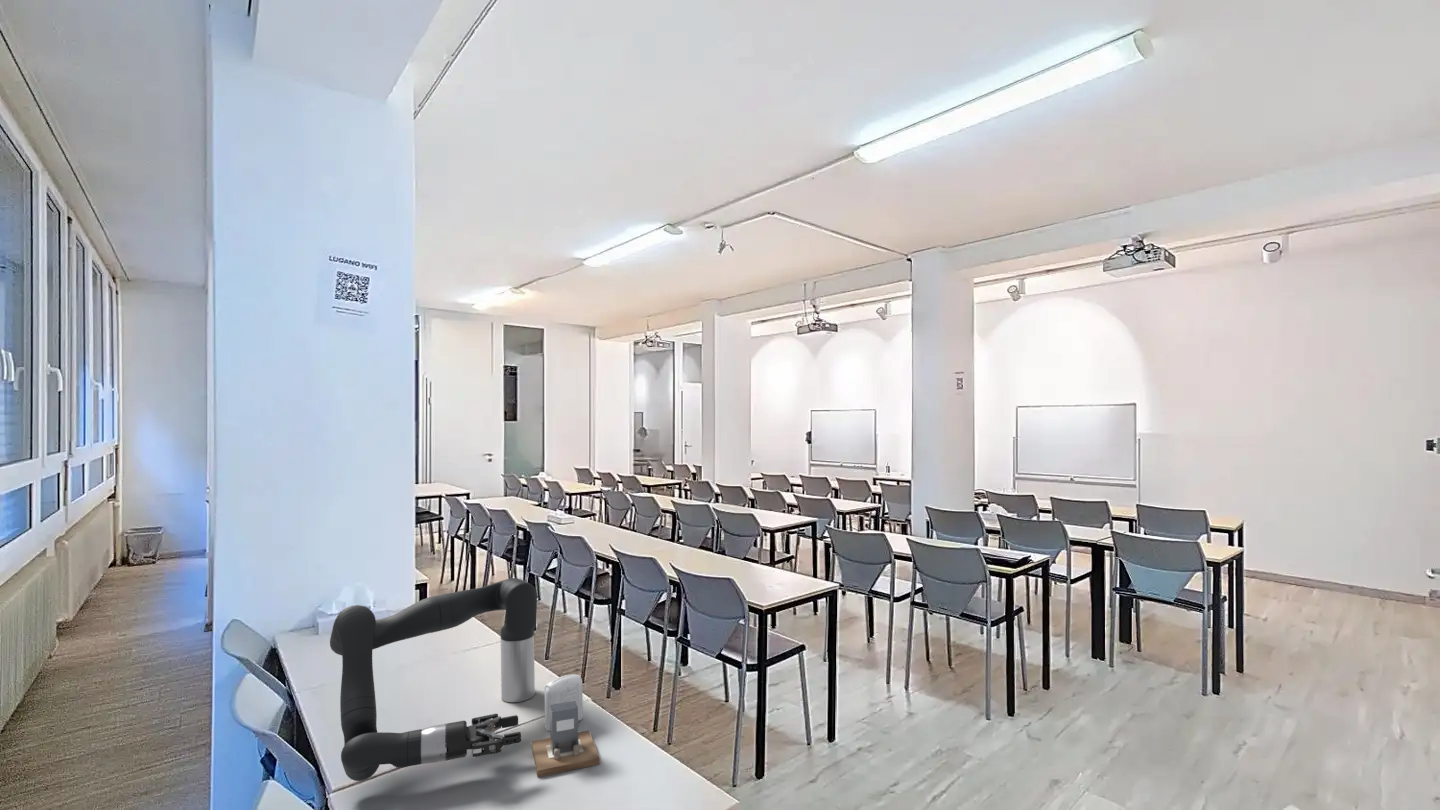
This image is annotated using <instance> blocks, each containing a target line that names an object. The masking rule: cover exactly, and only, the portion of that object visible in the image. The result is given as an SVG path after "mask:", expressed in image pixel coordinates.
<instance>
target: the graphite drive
mask: <svg viewBox="0 0 1440 810" xmlns="http://www.w3.org/2000/svg"><path fill="white" fill-rule="evenodd" d="M549 732H550V735H549V738H550V739H551V750H552V754H553V755H554V749H556V748H559V749H560V753H564V752H569V751H573V746H574V745H578V732H579V721H578V706H577V704H576V701H570V702H565V703H559V704H553V705H550V731H549Z"/></svg>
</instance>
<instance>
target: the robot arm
mask: <svg viewBox="0 0 1440 810" xmlns="http://www.w3.org/2000/svg"><path fill="white" fill-rule="evenodd" d="M537 595H538V594H537V590H536V588H535V586H534V585H532V584H531V583H529V582H528V581H525V580H523V579H519V578H518V577H516V578H514V577H511V578H506V579H502V580H499V581H498V582H495V583H491V584H487V585H485V586H481V587H476V588H471V589H464V590H458V591H454V592H447V593H443V594H439V595H433V596H429V597H426V598H423V599H420V600H419V601H416V602H415V603H412V604H411V605H410V606H407V607H406V608H403V609H402V610H400V611H399V612H396V613H395V614H392V615H390V616H387V617H382V618H380V619H376V616H375V614H374V612H373V611H372V610H371V609H370V608H369V607H367V606H364V605H361V604H360V605H359V604H356V605H355V604H354V605H351V606H347V607H345V608H344V609H342V611H341V610H340V612H339V614H337V616H336V618H335V619H334V622H333V624H332V625H333V626H332V630H331V633H330V639H329V646H330V649H331V650H332V652H334V653H335V654H337V655H338V656H339V655H340V656H341V657H342V658H341V659H342V666H341V667H342V668H341V670H342V671H341V683H340V700H339V701H340V703H339V704H340V707H339V708H340V710H339V711H340V722H341V723H340V725H341V731H342V735H343V740H344V743H343V744H344V745H343V747H342V749H341V751H340V752H341V753H340V760H341V763H342V767H343V771H344V774H346V776H347V777H348V778H349V779H350V780H352V781H353V782H363V781H366V780H368V779H370V778H371V777H373V775H374V774H375V773H376V772H377V771H378V769H379V767H380V765H381V766H382V765H392V766H393V767H394V768H397V769H400V768H401V769H402V768H408V767H413V766H418V765H424V764H435V763H440V762H445V761H450V760H451V761H452V760H456V759H461V758H465V757H466V756H467V755H468V750H471V756H472V757H473V758H477V757H484V756H488V755H495V754H500V753H501V752H502V749H503V748H504V747H505V746H510V745H515V744H520V743H521V742H522V733H521V732H522V731H516V732H512V733H505V734H503V735H502V734H496V731H498V730H500V729H505V728H506V729H507V728H510V727H511V728H512V727H515V726H516V727H517V726H518V725H519V716H518V715H517V714H514V715H510V716H503V717H502V716H499V714H498V713H493V714H487V715H482V716H478V717H473V718H471V725H467V724H468V723H467V721H466V720H460V721H459V720H458V721H454V722H448V723H441V724H435V725H432V726H429V727H425V728H421V729H415V730H409V731H404V732H383V731H382V732H379V731H378V728H377V720H378V719H377V701H376V691H375V681H374V679H375V677H374V669H373V668H374V667H373V650H375V649H378V648H381V647H384V646H387V645H389V644H392V643H397V642H399V641H404V640H409V639H412V638H415V637H420V636H423V635H427V634H432V633H437V632H441V631H446V630H449V629H453V628H456V627H458V626H460V625H462V624H464V623H467V621H470V620H471V619H473V618H474V617H476V616H478V615H481V614H484V613H489V612H495V611H502V610H503V611H504V610H505V624H504V625H502V626H501V628H500V682H501V683H500V686H501V687H500V689H501V690H500V691H501V692H500V695H501V699H502V701H504V702H506V703H518V702H519V703H520V702H525V701H527V700H529V699H531V698H533V697H534V695H536V694H535V693H536V691H535V690H536V685H535V684H536V683H535V682H536V681H535V680H536V679H535V677H536V676H535V672H536V671H535V669H536V668H535V627H536V626H537V625H536V624H537V618H538V617H537V615H538V614H537V613H538V596H537Z"/></svg>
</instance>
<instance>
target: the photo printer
mask: <svg viewBox="0 0 1440 810" xmlns="http://www.w3.org/2000/svg"><path fill="white" fill-rule="evenodd" d="M570 701H576V704H577V706H578V722H580V721H581V720H583V717H584V716H583V712H584V711H583V703H584V701H583V680H582V677H581V676H580V675H578V674H575V673H574V674H572V673H571V674H565V675H562V676H559V677H557V678H555V679H553V680H552V681H550V682H548V683H547V684H546V685H545V687H544V727H545V730H546V731H548V732H550V705H553V704H559V703H565V702H570Z"/></svg>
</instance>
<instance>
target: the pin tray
mask: <svg viewBox="0 0 1440 810" xmlns="http://www.w3.org/2000/svg"><path fill="white" fill-rule="evenodd" d="M531 750H532V755H533V761H534V766H535V772H536V777H537V778H541V777H545V776H550V775H555V773H556V774H560V772H561V773H564V771H565V772H569V770H570V771H574V770H573V769H575V770H578V769H577V768H580V769H583V768H588V766H589V767H594V766H598V765H600V760H601V759H600V756H599V753H598V751H597V748H596V745H595V742H594V739H593V738H592V735H591V731H590V730H589V729H587V730H584V731H583V730H582V731H578V745H574V746H573V751H569V752H564V753H560V749H559V748H556V749H554V755H553V754H552V750H551V739H550V737H545V738H540V739H535V740H531ZM593 765H594V766H593Z"/></svg>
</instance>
